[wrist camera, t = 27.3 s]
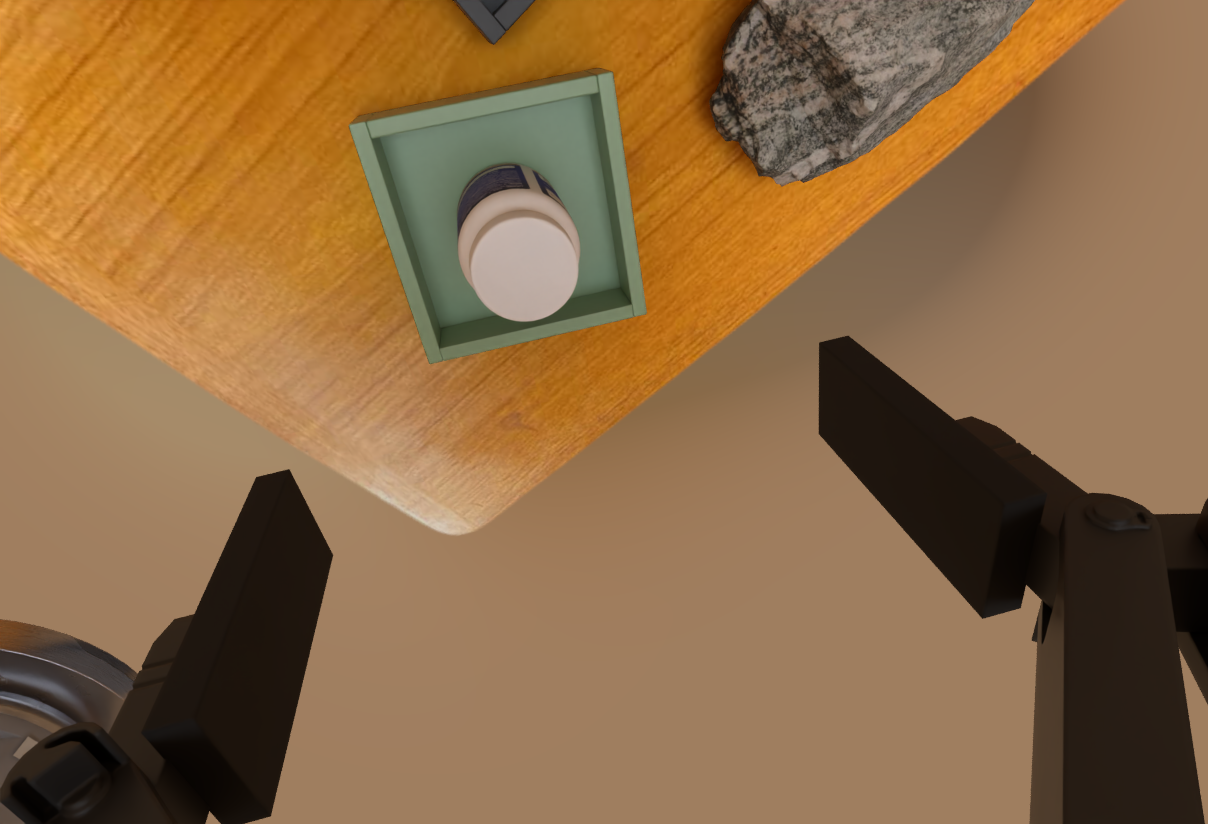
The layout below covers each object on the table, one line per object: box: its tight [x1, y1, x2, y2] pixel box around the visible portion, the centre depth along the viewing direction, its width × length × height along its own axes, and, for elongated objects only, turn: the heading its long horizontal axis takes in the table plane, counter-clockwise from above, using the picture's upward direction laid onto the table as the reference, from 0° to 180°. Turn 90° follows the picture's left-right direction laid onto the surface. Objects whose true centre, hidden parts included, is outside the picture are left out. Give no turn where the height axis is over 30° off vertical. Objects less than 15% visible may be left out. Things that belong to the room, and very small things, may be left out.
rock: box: [709, 0, 1035, 186], centre depth 33 cm, size 18×10×10 cm
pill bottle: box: [457, 163, 580, 321], centre depth 33 cm, size 6×6×10 cm
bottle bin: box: [349, 68, 647, 364], centre depth 36 cm, size 13×13×4 cm
